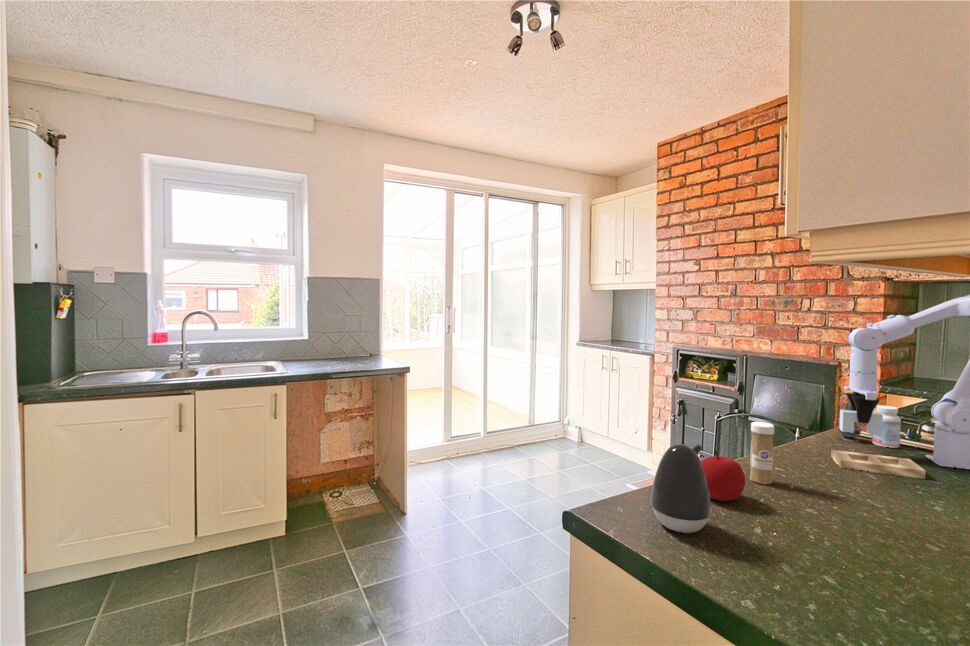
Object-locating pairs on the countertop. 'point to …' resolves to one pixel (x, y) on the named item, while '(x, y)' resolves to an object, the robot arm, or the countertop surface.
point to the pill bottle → (888, 428)
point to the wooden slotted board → (878, 464)
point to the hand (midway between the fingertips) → (861, 421)
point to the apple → (723, 477)
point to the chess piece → (848, 435)
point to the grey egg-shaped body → (681, 490)
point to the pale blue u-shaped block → (851, 416)
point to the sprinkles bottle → (761, 452)
